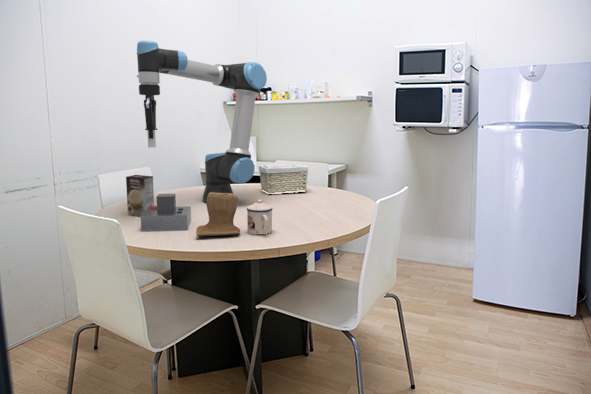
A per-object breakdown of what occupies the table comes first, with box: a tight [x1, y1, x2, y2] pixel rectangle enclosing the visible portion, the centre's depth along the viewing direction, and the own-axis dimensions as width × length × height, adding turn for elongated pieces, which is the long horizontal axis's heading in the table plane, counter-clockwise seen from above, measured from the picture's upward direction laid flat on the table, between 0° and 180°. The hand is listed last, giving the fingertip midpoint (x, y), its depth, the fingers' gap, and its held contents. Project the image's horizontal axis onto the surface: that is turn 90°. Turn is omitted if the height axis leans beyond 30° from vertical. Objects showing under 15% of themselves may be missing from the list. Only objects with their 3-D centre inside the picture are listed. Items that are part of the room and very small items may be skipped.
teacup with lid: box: [246, 199, 273, 235], centre depth 160 cm, size 12×9×12 cm
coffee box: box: [125, 174, 155, 217], centre depth 186 cm, size 9×6×16 cm
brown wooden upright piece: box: [195, 192, 241, 237], centre depth 157 cm, size 15×12×15 cm
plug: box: [155, 193, 177, 213], centre depth 169 cm, size 6×6×11 cm
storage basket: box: [258, 163, 309, 193], centre depth 244 cm, size 24×16×15 cm
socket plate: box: [140, 205, 192, 232], centre depth 170 cm, size 16×16×6 cm
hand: (152, 147), depth 175 cm, fingers closed
